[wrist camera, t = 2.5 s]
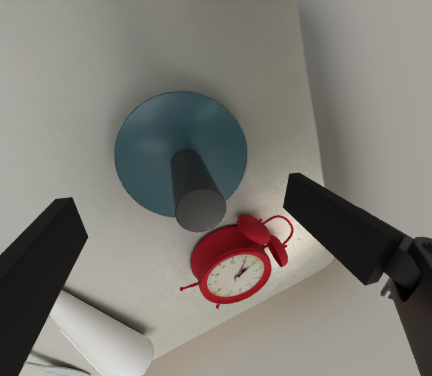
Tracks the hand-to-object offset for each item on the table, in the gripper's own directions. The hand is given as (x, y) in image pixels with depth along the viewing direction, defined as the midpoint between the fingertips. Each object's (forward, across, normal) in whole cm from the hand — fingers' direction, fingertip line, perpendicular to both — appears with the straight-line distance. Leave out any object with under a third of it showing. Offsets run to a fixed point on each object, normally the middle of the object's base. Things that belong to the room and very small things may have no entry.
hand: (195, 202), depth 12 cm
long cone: (+8, -12, -19) cm, 24 cm away
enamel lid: (+7, 0, 0) cm, 7 cm away
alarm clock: (+8, +6, -13) cm, 17 cm away
